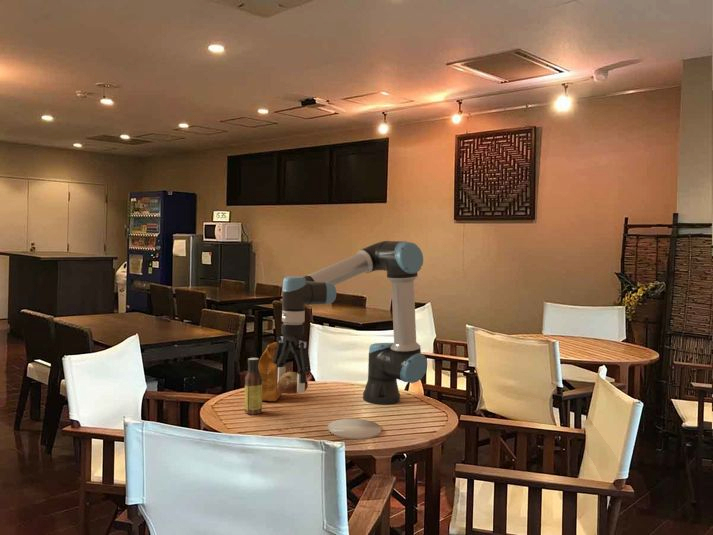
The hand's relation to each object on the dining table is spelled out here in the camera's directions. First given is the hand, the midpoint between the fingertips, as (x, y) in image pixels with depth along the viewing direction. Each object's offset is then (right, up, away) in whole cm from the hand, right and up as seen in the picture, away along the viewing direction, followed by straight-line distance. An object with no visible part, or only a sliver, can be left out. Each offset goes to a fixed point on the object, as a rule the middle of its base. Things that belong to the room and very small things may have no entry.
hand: (290, 389), depth 200 cm
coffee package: (-13, -12, +38) cm, 41 cm away
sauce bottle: (-16, -12, +18) cm, 27 cm away
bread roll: (0, -1, 0) cm, 1 cm away
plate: (+21, -14, +2) cm, 26 cm away
